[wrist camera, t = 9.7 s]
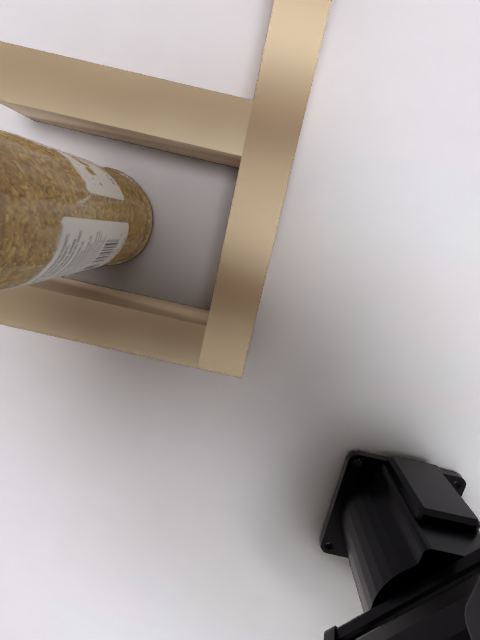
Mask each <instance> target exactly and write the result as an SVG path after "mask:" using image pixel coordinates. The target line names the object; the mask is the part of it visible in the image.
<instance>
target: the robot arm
mask: <svg viewBox="0 0 480 640" xmlns="http://www.w3.org/2000/svg"><path fill="white" fill-rule="evenodd" d="M355 459H360V460H359V462H357V463H353V461H354V460H355ZM454 481H457V482H456V483H455V484H452V483H453V482H454ZM465 486H466V482H465V480H464V479H463V478H462V477H461V476H460V474H458V473H456V472H451V471H447V470H442V469H439V468H438V467H437V466H435V465H431V464H427V463H422V462H418V461H413V460H409V459H404V458H400V457H395V456H392V457H384V456H379V455H375V454H370V453H366V452H361V451H352V452H350V453H349V454H348V455H347V457H346V460H345V463H344V466H343V469H342V472H341V475H340V478H339V481H338V484H337V487H336V490H335V493H334V496H333V499H332V502H331V506H330V509H329V512H328V515H327V518H326V521H325V524H324V527H323V530H322V533H321V536H320V541H319V542H320V547H321V549H322V551H323V552H325V553H329V554H333V555H338V556H342V557H347V558H348V559H349V563H350V566H351V569H352V573H353V576H354V580H355V583H356V587H357V590H358V594H359V597H360V601H361V604H362V608H363V611H364V613H363V614H361V615H359V616H358V617H356V618H354V619H352V620H350V621H349V622H347V623H345V624H343V625H342V626H340V627H336V626H334V627H332V628H330V629H329V630H327V631H325V633H324V640H480V531H479V529H480V522H479V520H478V518H477V517H476V516H475V514H474V513H473V512H472V510H471V509H470V508H469V507H468V505H467V504H466V503H465V501H464V500H463V499H462V498H461V496H462V494H463V492H464V489H465ZM328 542H331V543H330V544H326V543H328Z"/></svg>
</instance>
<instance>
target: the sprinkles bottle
mask: <svg viewBox="0 0 480 640" xmlns="http://www.w3.org/2000/svg"><path fill="white" fill-rule="evenodd" d="M152 217H153V214H152V209H151V206H150V203H149V201H148V198H147V196H146V195H145V193H144V192H143V190H142V189H141V187H140V186H139V185H138V184H137V183H136V182H135V181H134V180H133V179H132V178H131V177H129V176H127V175H126V174H124V173H123V172H120V171H117V170H115V169H111V168H106V167H105V168H101V167H99V166H97V165H96V164H94V163H92V162H89V161H87V160H85V159H82V158H79V157H76V156H73V155H71V154H68V153H65V152H62V151H59V150H56V149H54V148H51V147H48V146H45V145H43V144H40V143H37V142H35V141H32V140H29V139H27V138H24V137H21V136H19V135H16V134H12V133H9V132H6V131H2V130H0V290H3V289H11V288H15V287H20V286H24V285H28V284H32V283H36V282H40V281H45V280H49V279H53V278H57V277H61V276H65V275H70V274H74V273H78V272H82V271H86V270H90V269H94V268H97V267H100V266H102V265H117V264H120V263H124V262H126V261H128V260H130V259H132V258H134V257H135V256H137V255H138V254H139V252H140V251H141V250H142V249H143V248H144V247H145V245H146V244H147V241H148V239H149V237H150V233H151V231H152Z"/></svg>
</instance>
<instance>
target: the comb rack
mask: <svg viewBox="0 0 480 640" xmlns="http://www.w3.org/2000/svg"><path fill="white" fill-rule="evenodd" d="M331 1H332V0H274V4H273V8H272V13H271V18H270V23H269V28H268V32H267V37H266V42H265V47H264V52H263V56H262V61H261V66H260V71H259V76H258V80H257V85H256V90H255V95H254V100H249V99H245V98H240V97H236V96H232V95H228V94H223V93H219V92H215V91H211V90H206V89H202V88H198V87H193V86H189V85H185V84H181V83H176V82H172V81H168V80H164V79H159V78H155V77H151V76H146V75H142V74H138V73H134V72H129V71H125V70H121V69H117V68H112V67H108V66H104V65H99V64H95V63H91V62H87V61H82V60H78V59H74V58H70V57H65V56H61V55H57V54H53V53H48V52H44V51H40V50H35V49H31V48H27V47H23V46H18V45H14V44H10V43H6V42H1V41H0V103H1V104H3V105H5V106H7V107H9V108H11V109H13V110H15V111H17V112H18V113H20V114H22V115H24V116H26V117H28V118H30V119H32V120H34V121H39V122H43V123H47V124H52V125H56V126H60V127H65V128H69V129H73V130H78V131H82V132H86V133H91V134H95V135H99V136H104V137H108V138H112V139H116V140H121V141H125V142H129V143H134V144H138V145H142V146H147V147H151V148H155V149H160V150H164V151H168V152H173V153H177V154H181V155H186V156H190V157H194V158H199V159H203V160H207V161H211V162H216V163H220V164H224V165H229V166H233V167H237V168H239V171H238V176H237V181H236V186H235V191H234V195H233V200H232V205H231V210H230V215H229V219H228V224H227V229H226V234H225V239H224V243H223V248H222V253H221V258H220V263H219V267H218V272H217V277H216V282H215V287H214V291H213V296H212V301H211V306H210V311H208V310H204V309H200V308H195V307H191V306H186V305H182V304H177V303H173V302H169V301H164V300H160V299H155V298H151V297H146V296H142V295H138V294H133V293H129V292H124V291H120V290H116V289H111V288H107V287H102V286H98V285H93V284H89V283H85V282H80V281H76V280H71V279H67V278H62V277H57V278H53V279H49V280H45V281H40V282H36V283H32V284H28V285H24V286H20V287H15V288H11V289H3V290H0V324H2V325H6V326H10V327H15V328H19V329H24V330H28V331H33V332H37V333H42V334H46V335H51V336H55V337H60V338H64V339H69V340H73V341H77V342H82V343H86V344H91V345H95V346H100V347H104V348H109V349H113V350H118V351H122V352H127V353H131V354H136V355H140V356H144V357H149V358H153V359H158V360H162V361H167V362H171V363H176V364H180V365H185V366H189V367H194V368H198V369H203V370H207V371H211V372H216V373H220V374H225V375H229V376H234V377H238V378H241V377H242V373H243V369H244V365H245V361H246V357H247V352H248V348H249V344H250V340H251V336H252V331H253V327H254V323H255V319H256V315H257V311H258V306H259V302H260V298H261V294H262V290H263V285H264V281H265V277H266V273H267V269H268V265H269V260H270V256H271V252H272V248H273V244H274V239H275V235H276V231H277V227H278V223H279V219H280V214H281V210H282V206H283V202H284V198H285V193H286V189H287V185H288V181H289V177H290V173H291V168H292V164H293V160H294V156H295V152H296V147H297V143H298V139H299V135H300V131H301V127H302V122H303V118H304V114H305V110H306V106H307V101H308V97H309V93H310V89H311V85H312V81H313V76H314V72H315V68H316V64H317V60H318V55H319V51H320V47H321V43H322V39H323V35H324V30H325V26H326V22H327V18H328V14H329V9H330V5H331Z"/></svg>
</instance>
